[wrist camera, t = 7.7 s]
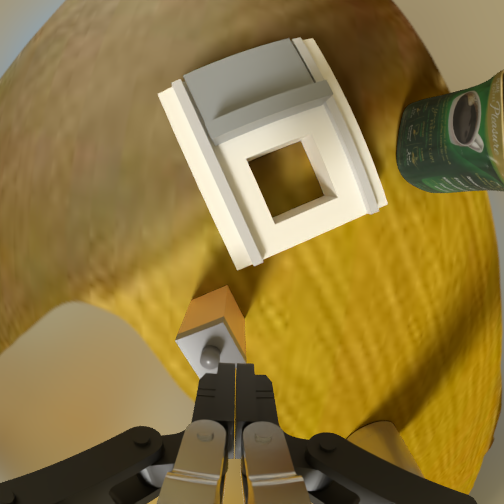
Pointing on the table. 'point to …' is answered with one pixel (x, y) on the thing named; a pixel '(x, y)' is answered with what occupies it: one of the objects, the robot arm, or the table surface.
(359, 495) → the robot arm
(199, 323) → the plug
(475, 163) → the coffee jar
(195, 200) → the table surface
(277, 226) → the socket
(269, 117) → the shutter
